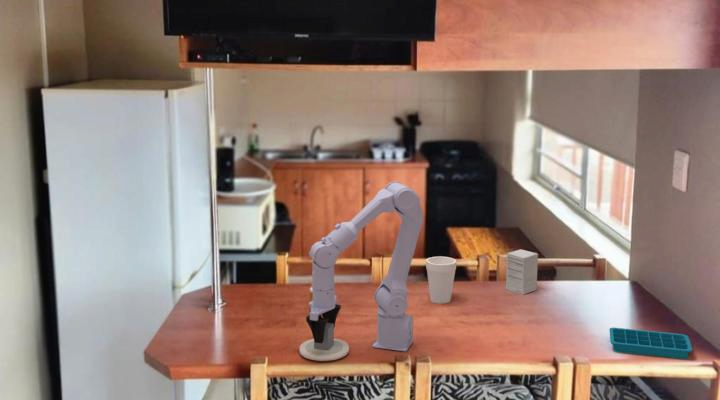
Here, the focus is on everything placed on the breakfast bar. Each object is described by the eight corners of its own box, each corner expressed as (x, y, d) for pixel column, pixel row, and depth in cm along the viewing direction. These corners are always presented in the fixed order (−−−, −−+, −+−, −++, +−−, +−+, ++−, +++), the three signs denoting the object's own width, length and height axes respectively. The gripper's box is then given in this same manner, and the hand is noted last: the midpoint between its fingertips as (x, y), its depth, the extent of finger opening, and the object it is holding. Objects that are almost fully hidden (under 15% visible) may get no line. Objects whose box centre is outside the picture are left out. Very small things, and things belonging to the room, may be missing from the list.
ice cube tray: (608, 337, 215) (609, 327, 214) (686, 345, 209) (687, 334, 208) (609, 353, 204) (610, 342, 203) (691, 362, 198) (693, 351, 198)
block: (333, 344, 205) (333, 323, 203) (328, 350, 201) (328, 328, 200) (319, 342, 206) (319, 321, 205) (314, 348, 202) (313, 327, 201)
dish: (355, 346, 208) (355, 340, 207) (338, 365, 196) (338, 359, 195) (310, 340, 212) (310, 334, 211) (291, 359, 200) (291, 353, 199)
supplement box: (519, 285, 258) (520, 248, 256) (537, 290, 253) (538, 253, 250) (504, 289, 254) (506, 252, 251) (522, 295, 248) (524, 257, 246)
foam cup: (425, 295, 249) (425, 256, 246) (453, 295, 248) (454, 256, 245) (426, 305, 239) (427, 265, 237) (456, 305, 239) (457, 265, 236)
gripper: (319, 278, 208) (320, 325, 211) (298, 295, 194) (299, 345, 197) (343, 280, 206) (344, 328, 208) (324, 297, 192) (325, 348, 195)
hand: (324, 337), depth 203 cm, fingers open, 7 cm apart
